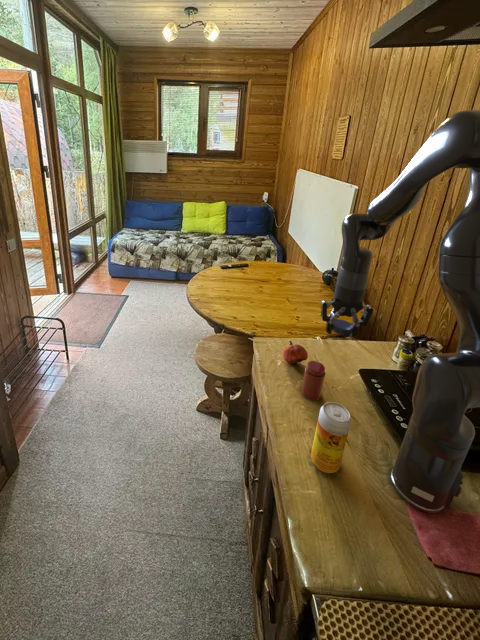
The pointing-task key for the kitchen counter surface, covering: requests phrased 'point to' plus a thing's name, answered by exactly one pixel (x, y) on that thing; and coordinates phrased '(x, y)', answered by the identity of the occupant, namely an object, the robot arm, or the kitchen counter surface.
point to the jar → (313, 380)
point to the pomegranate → (295, 354)
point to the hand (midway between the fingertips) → (340, 334)
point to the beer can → (330, 437)
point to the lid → (342, 327)
